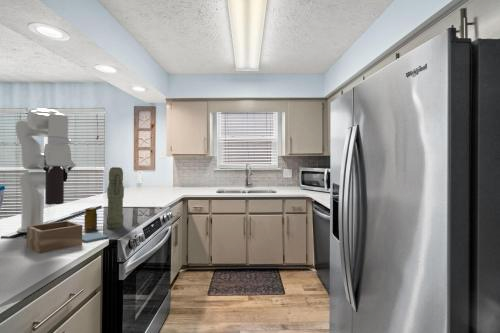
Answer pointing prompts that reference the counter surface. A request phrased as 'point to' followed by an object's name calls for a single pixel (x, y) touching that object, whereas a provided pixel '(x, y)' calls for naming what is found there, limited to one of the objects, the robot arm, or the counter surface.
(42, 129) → the robot arm
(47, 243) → the crate
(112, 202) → the thermos
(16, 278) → the counter surface
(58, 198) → the vinegar
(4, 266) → the counter surface
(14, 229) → the counter surface
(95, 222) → the condiment
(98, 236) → the mat
